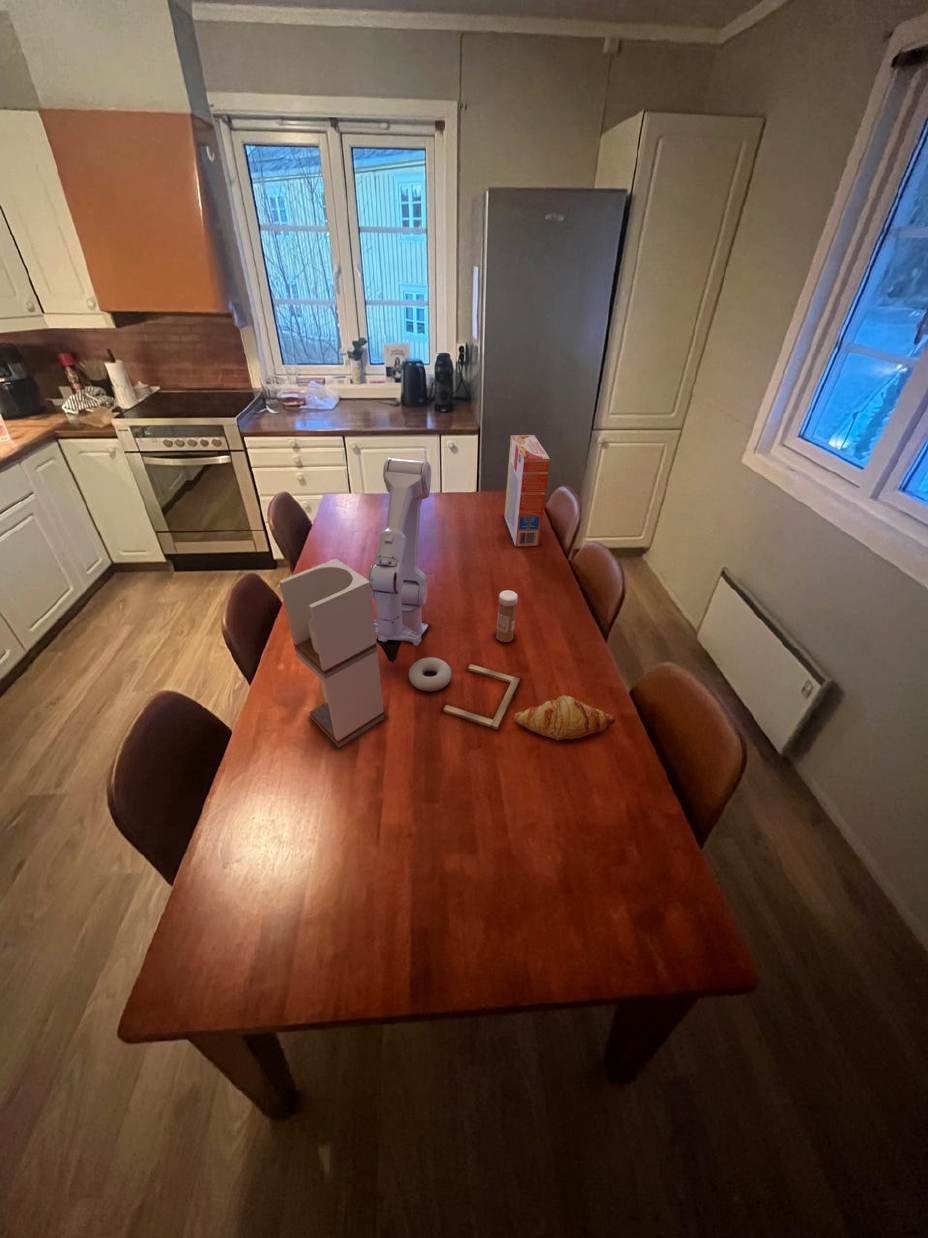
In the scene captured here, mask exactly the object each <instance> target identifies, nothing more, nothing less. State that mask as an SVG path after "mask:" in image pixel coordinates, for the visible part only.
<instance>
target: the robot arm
mask: <svg viewBox="0 0 928 1238" xmlns="http://www.w3.org/2000/svg"><path fill="white" fill-rule="evenodd" d="M382 476H383V482H384V484H385V489H386V492H387V493H388V494H389V496H388V497H389V500H388V509H387V519H386V528H385V529H384V530H382V531H380V534H379V538H378V544H377V550H376V554H375V561H374V565H371V566H370V568H369V571H368V575H367V580H368V581H370V585H371V595H372V599H373V600H374V608H375V609H374V610H375V618H376V619H374V624H375V634H376V636H377V637H376V643H377V645H378V646H379V647H380V648H381V649H382V651H383V652H384V654H385V656H386V659H387V662H391V663H394V662H395V661H396V660H397V658H398V656H399V655H398V654H399V651H400V647H401V644H402V643H403V641H405V642H409V643H412V645H413V646H416V647H418V645H419V644H420V643H421V642H422V635H423V634H424V633H425V631H426V630H427V629H428V627H429V625H428V624H427V623H423V622H422V621H423V620H422V619H423V618H422V607H424V605H426V602H427V599H428V591H429V589H428V587H429V586H428V577H427V574H425V572H423V571H422V570H421V569H420V568H419V567H418V552H419V539H420V538H419V536H420V520H421V507H422V502H423V500H425V499H428V498H430V494H431V484H432V467H431V464H430V463H429V461H428V460H424V461H422V460H409V459H399V458H392V457H388V458H387V459H386V460H385V462H384V464H383V469H382Z"/></svg>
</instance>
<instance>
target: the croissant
mask: <svg viewBox="0 0 928 1238" xmlns="http://www.w3.org/2000/svg"><path fill="white" fill-rule="evenodd" d="M514 721H515V722H516V723H517V724H518V725H520V726H523V727H525V728H526V729H528V730H529V731H531V732H533V733H537V734H539V735H541V736H543V737H548V738H551V739H554V740H555V741H557V742H558V741H561V740H573V739H574V740H575V739H576V740H577V739H581V738H583V737H586V736H588V735H591V734H595V733H597V732H602V731H604V730H606V729H607V728H609V727H611V725H613V724H614V723H615V722H616V718H615V715H614V714H612V713H605V712H604V711H603V710H602V709H598V708H595V707H594V708H593V707H591V706H590V705H588V704H586V703H585V702H584V701H582V700H578V699H576V698H574V697H573V696H569V695H566V694H564V695H562V694H561V695H560V696H559V697H557V699H549V700H546V701H545V702H544V703H543V704H542V705H537V706H530V707H528V708H527V709H526V710H524V711H518V712H517V713H515V714H514Z"/></svg>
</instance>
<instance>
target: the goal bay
mask: <svg viewBox="0 0 928 1238" xmlns="http://www.w3.org/2000/svg"><path fill="white" fill-rule="evenodd" d="M467 669H468V671H469V672H473V673H476V674H480V675H482V676H486V677H490V678H493V679H497V680H500V681H503V682H507V683H509V686H508V688H507V690H506V693H504V696H503V698H502V700H501V703H500V705H499V706H498V709H497V710H496V713H495V715H494V717H493V719H491V718H488V717H485V716H482V715H480V714H476V713H473V712H470V711H467V710H464V709H461V708H457V707H454V706H451V705H448V704H446V705H444V708H443V711H442V712H444V713H447V714H450V715H452V716H456V717H458V718H462V719H465V720H466V721H471V722H474V723H477V724H480V725H483V726H486V727H489V728H492V729H495V730H498V728H499V726H500V724H501V722H502V720H503V718H504V715H505V713H506V711H507V709H508V708H509V705H510V703H511V700H512V699H513V696H514V694H515V692H516V690H517V688H518V686H519V684H520V680H521V679H520V678H519V677H516V676H512V675H509V674H506V673H502V672H500V671H495V670H493V669H489V668H486V667H482V666H478V665H475V664H472V663H470V664H469V666H468V667H467Z"/></svg>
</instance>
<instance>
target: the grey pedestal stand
mask: <svg viewBox="0 0 928 1238" xmlns="http://www.w3.org/2000/svg"><path fill="white" fill-rule="evenodd" d="M278 582H279V587H280V592H281V596H282V600H283V605H284V608H285V613H286V615H287V616H286V617H287V621H288V625H289V629H290V634H291V638H292V643H293V646H294V647H293V648H294V651H295V656H296V658H298V659H299V660H300V661H301V662H302V663H303V664H304V665H305V666H306V667H307V668H308V669H309V670H311V672H313V673H314V674H315V675H316V677H318V679H319V683H320V688H321V692H322V693H321V694H322V697H323V699H324V701H325V702H324V703H322V704H320V705H319V706H317V707H316V708H314V709H312V710H309V716H310V719H311V720H312V721H313V722H314V723H315V725H317V726H318V728H319V729H320V730H321V731H323V733H324V734H325V735H326V736H327V737H328V738H329V739H330V740H331V741H332V742H333V743H334V744H335V746H336V747H338V748H341V747H343V746H344V745H345V744H347V743H348V742H350V741H352V740H353V739H355V738H356V737H358V736H359V735H361V734H362V733H364V732H365V731H367V730H369V729H370V728H372V727H373V726H375V725H376V724H378V723H379V722H381V721H383V720H384V719H385V713H384V711H385V710H384V703H383V693H382V684H381V673H380V663H379V654H378V643H377V642H376V639H377V635H376V634H375V624H374V620H375V614H374V605H373V597H372V594H371V585H370V581H368V578H365V577H364V576H363V575H361V574H360V573H359V572H357V571H356V570H354V569H353V568H351V567H350V566H348V565H347V564H345V563H343V562H342V561H341V560H339V559H338V558H333V559H331V560H328V561H326V562H323V563H321V564H318V565H315V566H313V567H311V568H308V569H306V570H303V571H301V572H298V573H295V574H293V575H290V576H287V577H285V578H283V579H280V580H278Z"/></svg>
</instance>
